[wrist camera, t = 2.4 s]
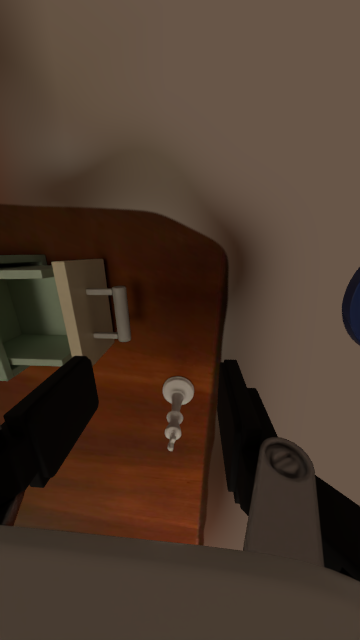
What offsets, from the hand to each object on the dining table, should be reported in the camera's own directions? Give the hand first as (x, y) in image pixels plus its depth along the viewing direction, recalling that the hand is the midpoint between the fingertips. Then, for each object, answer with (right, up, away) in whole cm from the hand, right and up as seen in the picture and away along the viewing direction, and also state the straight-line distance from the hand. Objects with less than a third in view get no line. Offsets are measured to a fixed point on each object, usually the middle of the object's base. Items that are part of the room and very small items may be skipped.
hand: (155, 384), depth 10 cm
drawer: (-13, +6, +17) cm, 22 cm away
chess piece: (+1, -8, +21) cm, 23 cm away
